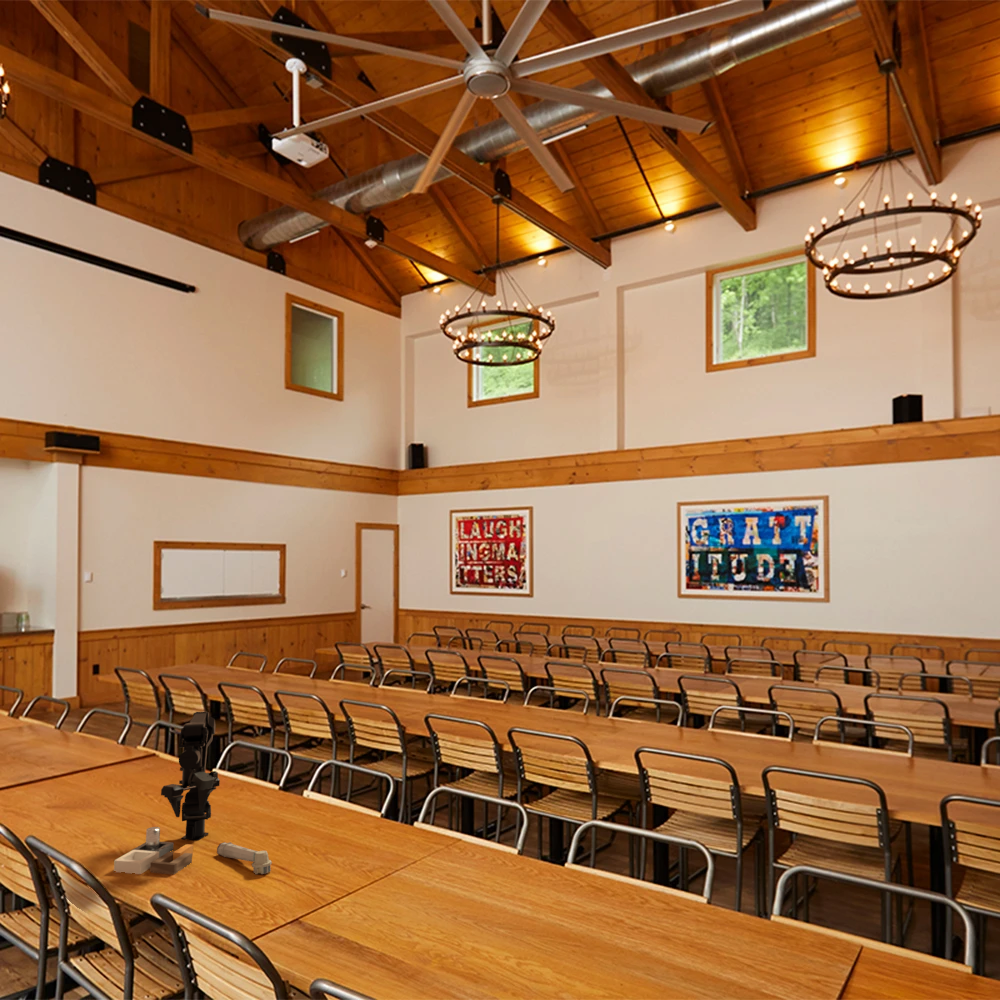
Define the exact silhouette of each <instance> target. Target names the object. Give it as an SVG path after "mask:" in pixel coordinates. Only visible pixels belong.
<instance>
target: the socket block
mask: <svg viewBox="0 0 1000 1000" xmlns="http://www.w3.org/2000/svg"><path fill="white" fill-rule="evenodd" d="M132 850H144V851H153V850H146V841H145V842H144V843H142V844H140V845H138V846H136V847H134V848H133V849H131V850H130V851H132ZM172 850H173V851H174V842H172V841H171V842H169V841H159V849H157V850H155V851H156V852H159V857H161V856H163V855H164V854H166V853H167V852H170V851H171V852H173V851H172Z"/></svg>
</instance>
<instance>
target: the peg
mask: <svg viewBox="0 0 1000 1000" xmlns="http://www.w3.org/2000/svg"><path fill="white" fill-rule="evenodd" d="M160 832H161V827H158V826H152V827H151V826H150V827H148V828H146V831H145V842H146V850H153V851H155V850H157V849H159V841H160V838H161V837H160V836H161V835H160V834H161V833H160ZM160 842H161V841H160Z"/></svg>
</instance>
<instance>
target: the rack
mask: <svg viewBox="0 0 1000 1000" xmlns="http://www.w3.org/2000/svg"><path fill="white" fill-rule="evenodd" d="M131 850H132V851H131ZM131 850H130V851H128V852H127V853H125V854H123V855H121V856H120V857H117V858H116V859H114V864H113V872H114V871H116V872H115V873H121V872H125V874H132V873H135V874H134V875H142V874H143V873H145V872H147V871H148V870H150V866H151V862H153V861H154V860H156V859H158V858H159V852H156V851H144V850H133V849H131Z"/></svg>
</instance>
